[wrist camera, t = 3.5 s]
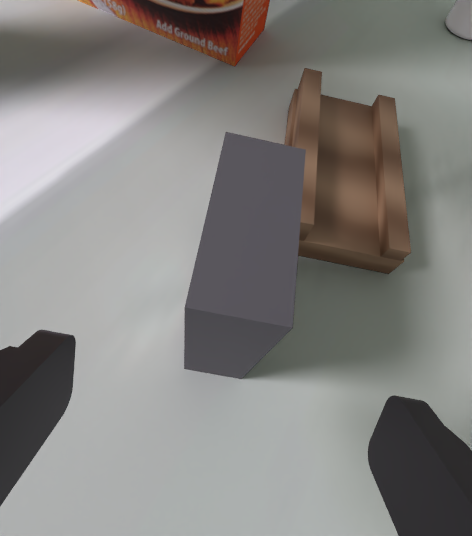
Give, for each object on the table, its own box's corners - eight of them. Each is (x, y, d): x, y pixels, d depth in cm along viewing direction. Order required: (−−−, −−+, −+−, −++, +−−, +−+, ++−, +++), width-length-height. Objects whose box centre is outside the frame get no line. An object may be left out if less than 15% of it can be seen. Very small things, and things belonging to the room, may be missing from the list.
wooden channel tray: (388, 273, 25) (422, 247, 22) (272, 250, 25) (287, 219, 21) (378, 128, 33) (402, 90, 29) (288, 107, 32) (301, 67, 29)
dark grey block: (241, 379, 21) (292, 327, 11) (184, 368, 20) (184, 307, 11) (256, 264, 24) (306, 149, 14) (208, 255, 24) (225, 131, 14)
